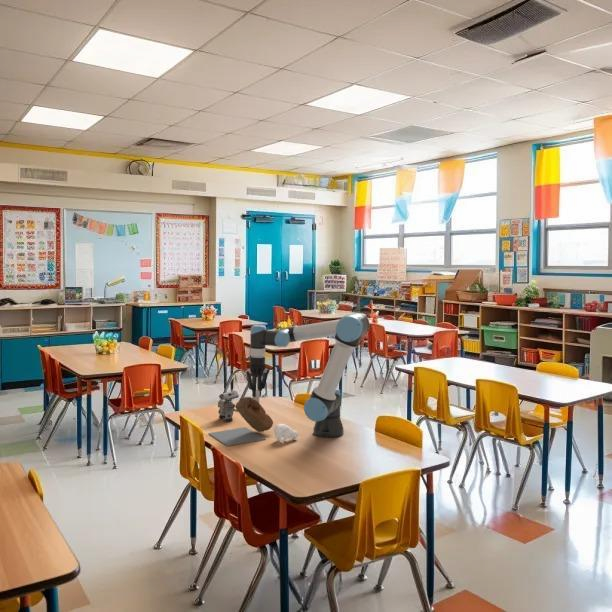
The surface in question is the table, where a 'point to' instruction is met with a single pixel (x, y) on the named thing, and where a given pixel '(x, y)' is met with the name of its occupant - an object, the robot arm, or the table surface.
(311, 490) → the table surface
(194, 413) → the table surface
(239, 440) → the mat
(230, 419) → the figurine
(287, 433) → the white lumpy piece
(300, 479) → the table surface
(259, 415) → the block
